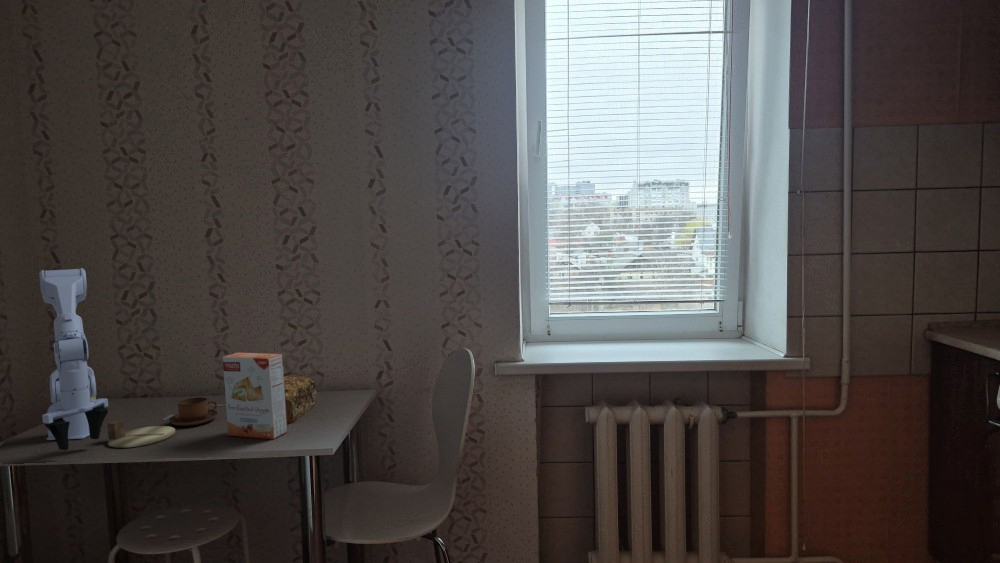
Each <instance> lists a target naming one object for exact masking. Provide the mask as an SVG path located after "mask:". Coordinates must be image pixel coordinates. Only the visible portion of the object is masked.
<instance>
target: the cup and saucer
mask: <svg viewBox="0 0 1000 563" xmlns="http://www.w3.org/2000/svg"><path fill="white" fill-rule="evenodd" d="M210 404H213V405H215V406H213V407H212V408H208V407H209V406H208V405H210ZM217 405H218V403H217V401H215V400H214V399H212V400H208V398H207V397H191V398H187V399H182V400H179V401H178V402H177V409H178V414H174V416H172V417H170V418H168V420H169V422H170V423H171V424H172V425H174V426H177V427H186V426H187V427H188V426H197V425H201V424H205V423H208V422H210V421H212V420H214V419H215V418H216V417H217V416H218V411H217V410H216V409H217V408H218V406H217Z"/></svg>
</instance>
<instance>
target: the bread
mask: <svg viewBox="0 0 1000 563" xmlns="http://www.w3.org/2000/svg"><path fill="white" fill-rule="evenodd" d="M284 389H285V404H286V419H287V424H293V423H295V422H296V421H297V420H299V419H300V418H301V417H302V416H304V415H306V413H307V412H308V411H310V410H311V409H312V408H313V407H314V406H315V405H316V398H317V397H316V395H317V386H316V382H315V381H314V380H313V379H311V378H310V377H308V376H305V375H302V374H290V375H285V376H284Z"/></svg>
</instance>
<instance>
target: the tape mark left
mask: <svg viewBox="0 0 1000 563" xmlns="http://www.w3.org/2000/svg"><path fill="white" fill-rule="evenodd" d="M173 416H175V414H169V415H167V416H166V417H164V418H162V419H161V421H166V420H169V419H170V418H171V417H173Z"/></svg>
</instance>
